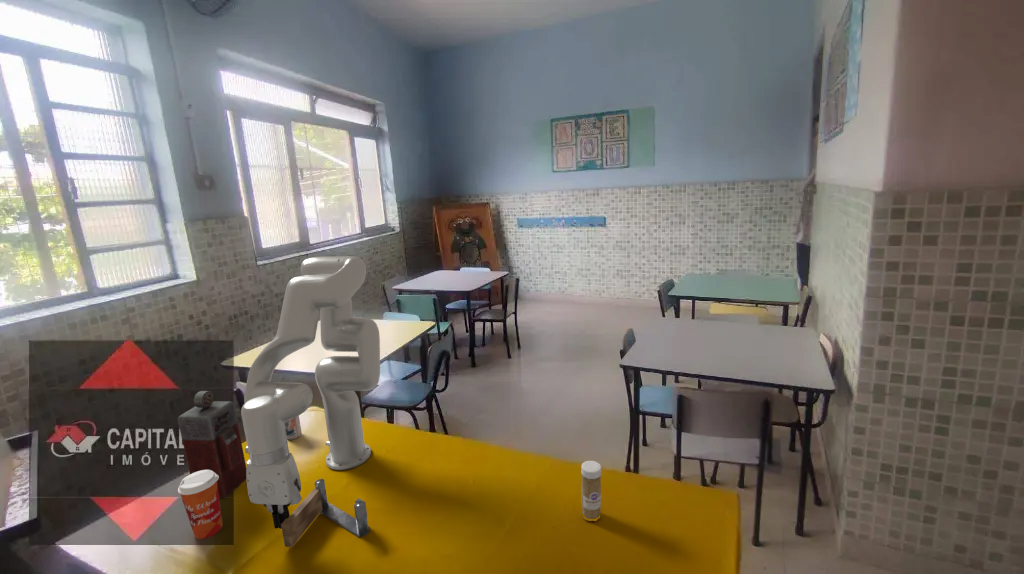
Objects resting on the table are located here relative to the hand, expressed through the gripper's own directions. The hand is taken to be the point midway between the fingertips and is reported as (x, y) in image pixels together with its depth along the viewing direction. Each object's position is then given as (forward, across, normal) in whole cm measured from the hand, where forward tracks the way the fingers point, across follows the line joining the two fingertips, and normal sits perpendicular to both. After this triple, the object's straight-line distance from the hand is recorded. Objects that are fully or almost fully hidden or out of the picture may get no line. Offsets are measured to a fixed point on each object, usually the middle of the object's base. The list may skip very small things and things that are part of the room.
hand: (282, 524), depth 102 cm
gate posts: (+4, +11, +7) cm, 13 cm away
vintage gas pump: (+4, -28, +17) cm, 33 cm away
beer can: (+4, -24, +42) cm, 48 cm away
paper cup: (+4, -20, +1) cm, 21 cm away
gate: (+3, +3, +3) cm, 5 cm away
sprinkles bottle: (+4, +70, +11) cm, 71 cm away
